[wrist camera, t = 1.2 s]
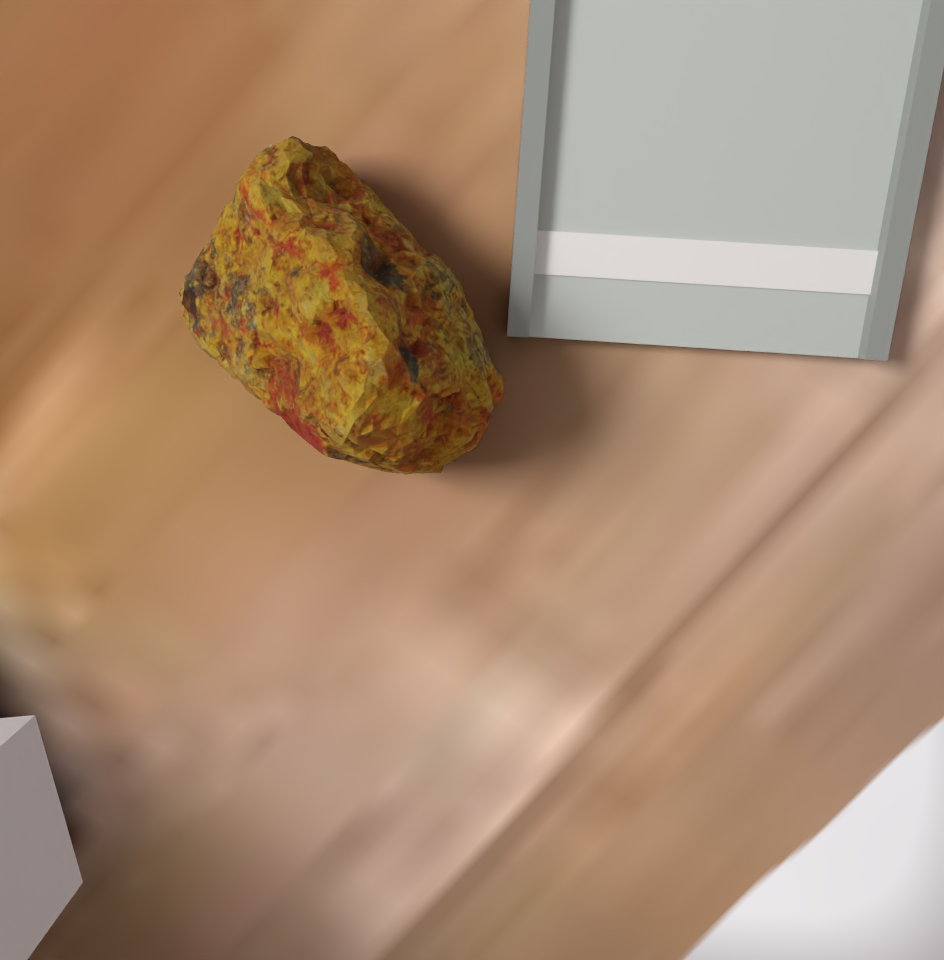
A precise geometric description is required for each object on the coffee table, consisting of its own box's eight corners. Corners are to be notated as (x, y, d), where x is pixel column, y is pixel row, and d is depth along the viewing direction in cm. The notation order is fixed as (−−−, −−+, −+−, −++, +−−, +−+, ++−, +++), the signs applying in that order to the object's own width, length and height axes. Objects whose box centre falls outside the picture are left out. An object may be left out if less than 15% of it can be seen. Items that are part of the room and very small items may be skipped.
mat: (506, 334, 29) (507, 336, 28) (547, -236, 25) (549, -262, 24) (872, 358, 29) (887, 361, 28) (980, -218, 24) (1003, -244, 23)
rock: (305, 404, 34) (102, 290, 27) (413, 249, 34) (239, 86, 26) (456, 541, 28) (245, 443, 20) (595, 350, 27) (434, 171, 19)
